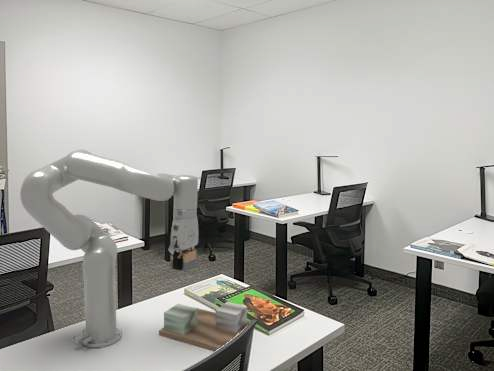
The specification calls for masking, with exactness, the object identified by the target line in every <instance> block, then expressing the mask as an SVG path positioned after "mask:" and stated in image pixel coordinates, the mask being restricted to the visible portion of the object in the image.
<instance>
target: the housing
mask: <svg viewBox="0 0 494 371" xmlns="http://www.w3.org/2000/svg"><path fill="white" fill-rule="evenodd" d="M176 252H177V253H179V250H177V251H176ZM181 258H182V270H178V271H180V272H185V273H186V272H188V271H190V270H193V269H195V268H196V266H197V249H196V248H195V249H191V248H189V249H186V250H183V251H182V255H181ZM170 270H176V269H173V257H172V255H171V254H170Z"/></svg>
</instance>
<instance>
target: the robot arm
mask: <svg viewBox="0 0 494 371" xmlns="http://www.w3.org/2000/svg"><path fill="white" fill-rule="evenodd" d="M78 180H79V181H80V180H81V181H84V182H88V183H92V184H96V185H100V186H104V187H108V188H113V189H115V190H118V191H121V192H124V193H128V194H131V195H134V196H138V197H140V198H143V199H144V198H145V199H149V200H153V201H158V202H160V201H161V202H164V201H168V200H170V199H171V198H172V197H173V218H172V223H171V224H172V225H171V231H170V244H169V246H168V249H167V250H168V252H169V253H170V256H171V255H172V257H173V269H172V270H175V269H176V270H177V271H179V270H182V258H181V255H182V251H183V250H186V249H189V248H191V249H196V246H197V245H199V221H198V216H197V212H198V211H197V210H198V208H197V207H198V189H199V188H198V186H199V180H198V178H197V177H196V176H194V175H191V174H190V175H189V174H187V175H186V174H181V175H175V174H169V173H157V174H152V173H149V172H146V171H145V172H144V171H142V170H139V169H137V168H133V167H131V166H130V165H129V164H127V163H125V162H122V161H119V160H116V159H112V158H108V157H103V156H99V155H96V154H92V153H91V152H90V151H88V150H85V149H76V150H74V151H70V152H69V153H68V154H67V155H66V156H64V157H62V158H59V159H57V160H55V161H53V162H51V163H49V164H47V165H45V166H43V167H39V168H38V169H35V170H33V171H31V172H30V173H29V174H28V175H27V176H26V177H25V178H24V180H23V182H22V184H21V188H20V192H19V194H20V201H21V205H22V207H23V208H24V210H25V211H26V212H27V214H28V215H29V216H30V217H31V218H33V219H34V220H35V221H36V222H37V223H38V224H40V226H41V227H43V229H45V231H47V232H48V233H49V234H50V235H51V236H52V237H53V238H55V240H56V241H58V242H59V243H60V245H61V246H63V247H64V248H66V249H67V250H70V251H78V250H81V251H83V253H84V254H83V257H82V266H81V267H82V274H83V288H84V289H83V291H84V292H83V293H84V316H85V317H84V318H85V319H84V320H85V323H84V324H85V328H83V329H82V333H81V335H79V336H77V337H75V338H74V339H73V344H74V345H78V344H80V343H81V344H82V345H83V346H84V347H88V348H96V349H97V348H104V347H105V348H106V347H109V346H112V345H114V344H116V343H118V342H119V341H120V339H122V336H123V335H122V330H121V329H120V328H118V327H117V291H116V290H117V289H116V288H117V281H116V261H117V260H116V259H117V255H118V245H117V244H116V242H115V241H114V239H113V238H112V237H111V235H108V233H106V231H105V230H103V229H102V228H101V227H100V226H99V225H98V224H97V223H96V222H95V221H94V220H92V219H91V217H89V216H87V215H84V214H79V213H77V214H73V212H71V211H70V210H68V209H67V207H66V206H65V205H63V204H62V203H61V202H59V201H58V200H57V199H55V197H54V194H55V192H57V191H59V190H61V189H62V188H64V187H66V186H68V185H71V184H72V183H75V182H76V181H78ZM177 250H179V253H177V252H176V251H177Z"/></svg>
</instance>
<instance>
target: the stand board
mask: <svg viewBox="0 0 494 371" xmlns="http://www.w3.org/2000/svg"><path fill="white" fill-rule="evenodd" d="M250 322H251V323H252V321H251V320H248V306H247V305H243V304H239V303H234V302H229V301H226V302H224V303H223V304H222V305H221V306H219V307H218V308H216V309H215V312H214V311H210V310H207V309H202V308H198V307H194V306H188V305H184V304H182V303H181V304H180V303H177V304H175V305H173V307H170V308H168V309H167V310H165V311H164V312H163V327H162V328H160V329H159V330H158V335H159V336H161V337H165V338H168V339H172V340H175V341H179V342H182V343H186V344H187V345H191V346H196V347H199V348H202V349H206V350H209V351H213V352H215V351H216V350H217V349H219V348H221V347H222V346H223V345H225V344H226V343H227V342H229V341H230V340H231V339H233V338H234V337H235V336H236V335H237V334H238V333H240V332H241V331H242V330H243V329H244V328H245V327H246V326H247V325H248V324H249V323H250Z"/></svg>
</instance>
